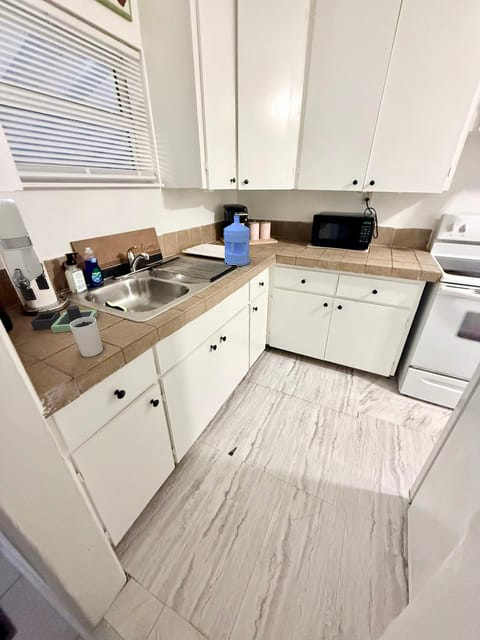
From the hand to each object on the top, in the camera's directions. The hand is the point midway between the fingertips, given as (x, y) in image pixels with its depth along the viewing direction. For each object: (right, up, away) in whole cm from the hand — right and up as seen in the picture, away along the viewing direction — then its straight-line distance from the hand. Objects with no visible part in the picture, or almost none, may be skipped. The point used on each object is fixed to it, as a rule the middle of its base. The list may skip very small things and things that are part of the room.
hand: (38, 294), depth 88 cm
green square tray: (+9, -10, +7) cm, 15 cm away
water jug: (+66, +27, +77) cm, 105 cm away
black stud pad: (+9, -9, +6) cm, 14 cm away
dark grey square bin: (0, -10, +5) cm, 12 cm away
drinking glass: (+24, -18, -9) cm, 31 cm away
